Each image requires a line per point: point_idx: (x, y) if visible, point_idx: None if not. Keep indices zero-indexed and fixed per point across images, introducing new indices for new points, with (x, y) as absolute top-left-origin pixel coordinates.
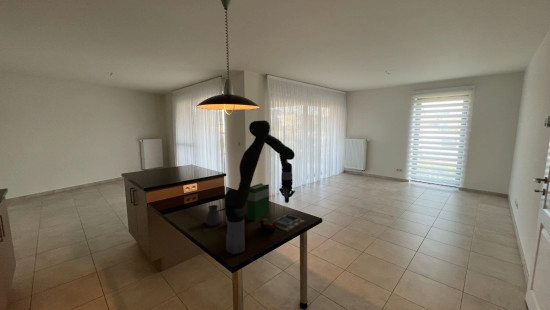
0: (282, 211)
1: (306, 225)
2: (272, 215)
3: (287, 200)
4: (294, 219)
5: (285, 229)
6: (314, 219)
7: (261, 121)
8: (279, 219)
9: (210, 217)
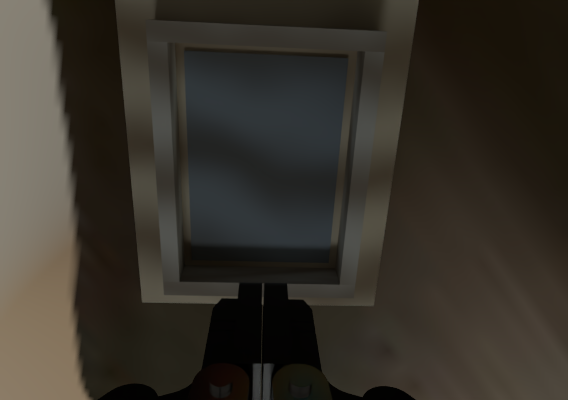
0: (478, 369)
1: (75, 242)
2: (520, 235)
3: (221, 326)
4: (236, 266)
5: None
6: None
7: None
8: (352, 140)
9: None
